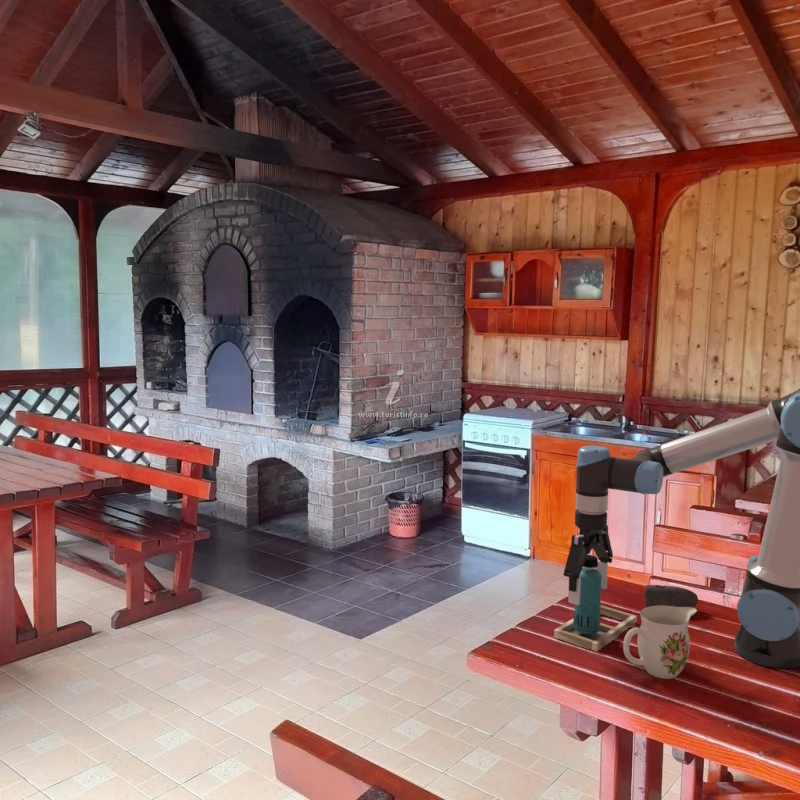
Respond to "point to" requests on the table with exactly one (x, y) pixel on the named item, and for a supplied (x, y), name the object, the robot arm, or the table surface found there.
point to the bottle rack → (604, 634)
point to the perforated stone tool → (669, 596)
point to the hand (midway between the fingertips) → (587, 595)
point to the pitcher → (661, 640)
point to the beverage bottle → (589, 598)
